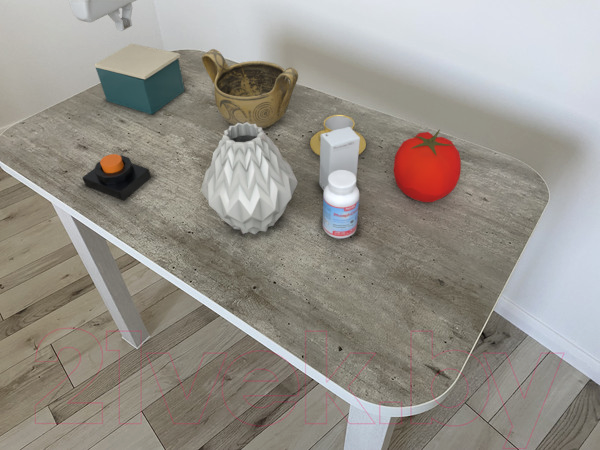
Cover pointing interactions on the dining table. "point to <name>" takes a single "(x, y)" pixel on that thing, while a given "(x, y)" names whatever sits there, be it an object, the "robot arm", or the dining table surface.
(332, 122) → the cup
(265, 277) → the dining table surface
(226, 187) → the vase
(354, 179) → the pill bottle
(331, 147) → the cosmetic box
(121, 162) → the flush button
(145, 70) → the beige flat rectangular panel
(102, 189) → the push button housing
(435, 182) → the tomato
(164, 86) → the teal hollow open box
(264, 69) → the ceramic bowl
